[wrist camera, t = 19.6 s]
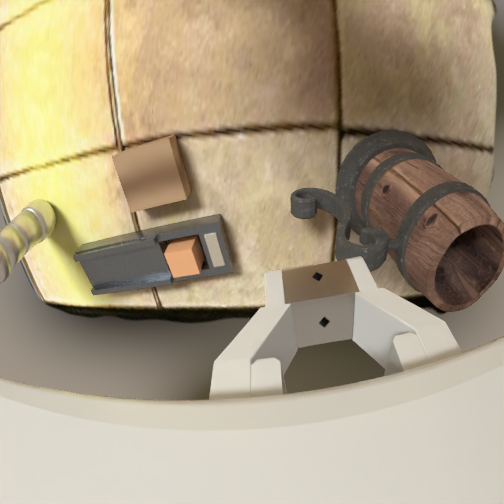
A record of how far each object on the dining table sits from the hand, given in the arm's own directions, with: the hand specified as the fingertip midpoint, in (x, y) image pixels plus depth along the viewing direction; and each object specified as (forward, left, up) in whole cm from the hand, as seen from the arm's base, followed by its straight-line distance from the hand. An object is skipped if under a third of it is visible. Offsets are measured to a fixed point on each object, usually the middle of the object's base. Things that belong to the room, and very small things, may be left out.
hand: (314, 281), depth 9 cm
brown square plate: (+1, -16, -30) cm, 34 cm away
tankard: (+9, +12, -30) cm, 33 cm away
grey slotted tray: (+13, -21, -30) cm, 38 cm away
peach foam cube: (+14, -17, -28) cm, 35 cm away
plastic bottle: (+2, -38, -30) cm, 48 cm away
